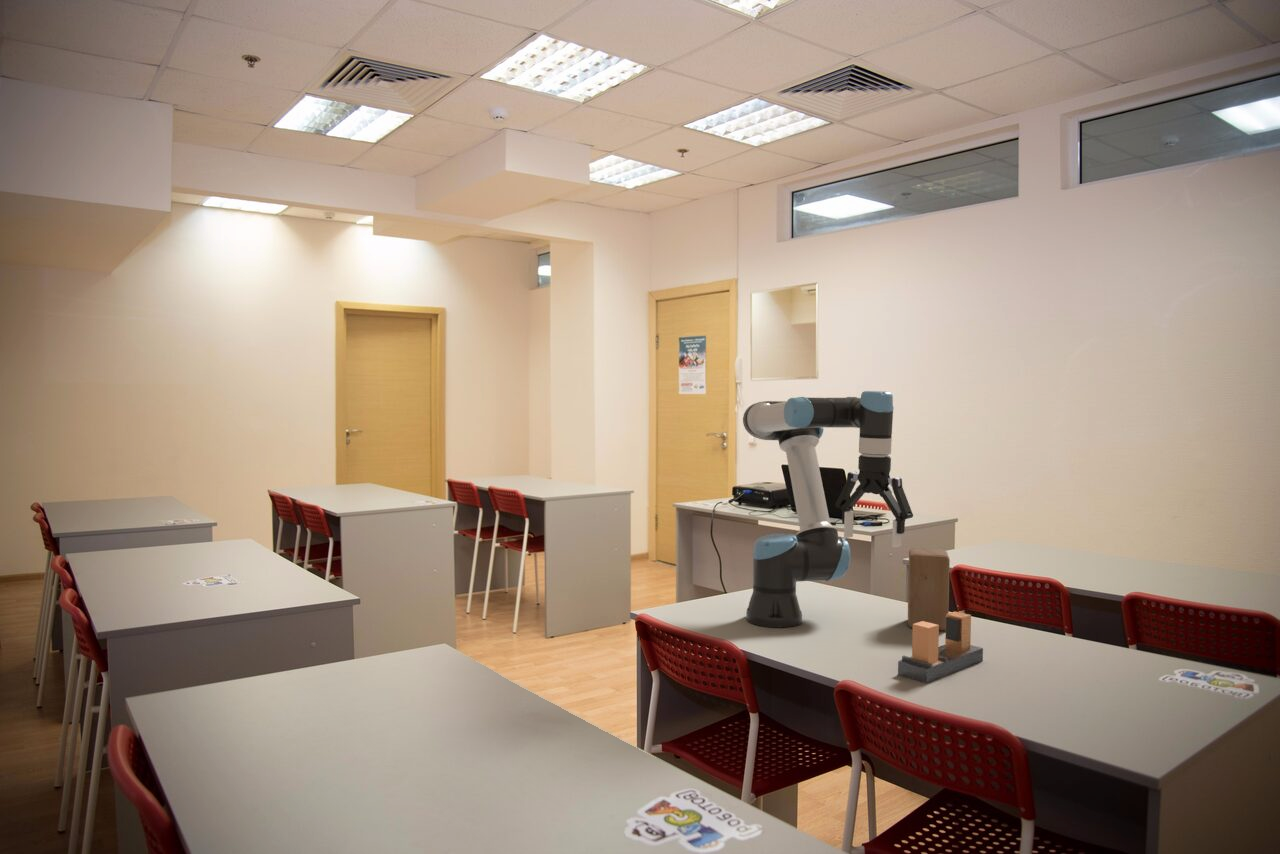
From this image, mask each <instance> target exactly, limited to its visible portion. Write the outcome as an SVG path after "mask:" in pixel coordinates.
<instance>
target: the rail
mask: <svg viewBox="0 0 1280 854" xmlns="http://www.w3.org/2000/svg"><path fill="white" fill-rule="evenodd" d="M971 632H972V614H969V613H963V612H959V611H952V612H949V613H948V614H946V630H945V644H943V645H939V646H938V661H936V662H933V663H929V662H925V661H921V660H918V659H914V658H912V655H910V656H907V655H902V656H901V660H900V659H899V660H898V661H897V675H899V676H902V677H905V678H908V679H911V680H915V681H918V682H922V683H925V684H928V683H931V682H933V681H936V680H938V679H941V678H944V677H946V676H947V675H951V674H953V673H956V672H959V671H961V670H964V669H966V668H968V667H970V666H971V667H972V665H975V664H978V663H981V662H983V661H984V648H983V647H981V646H975V645H973V644H971V636H972V635H971V634H972V633H971Z"/></svg>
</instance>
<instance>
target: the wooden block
mask: <svg viewBox="0 0 1280 854" xmlns="http://www.w3.org/2000/svg"><path fill="white" fill-rule="evenodd" d="M950 561H951V560H950V556H949V554H948V551H947V550H945V549H935V548H934V549H931V548H914V547H913V548H910V549H909V550H908V585H907V587H908V588H907V624H908V626H909V627H910V628H912V629H913V624H915V623H918V622H921V621H924V622H929V623H933V624H937V625H939V631H943V632H944V631H945V632H946V614H948V613H950V612H949V610H950V609H949V608H950V607H949V605H950V563H951V562H950Z"/></svg>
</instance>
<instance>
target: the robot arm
mask: <svg viewBox="0 0 1280 854" xmlns="http://www.w3.org/2000/svg"><path fill="white" fill-rule="evenodd" d="M893 396H894V395H893V394H892V392H890V391H882V390H881V391H880V390H865V391H862V392H861V394H860V397H857V396H846V397H805V396H798V397H790V398H788V399H787V400H786V401H785V400H783V401H782V400H781V401H779V400H778V401H777V400H774V401H772V400H766V401H758V402H756V403H755V402H754V403H753V404H751V405H749V406H748V407H747V408H746V409H745V411H744V413H743V416H742V424H743V427H744V429H745V431H746V432H747V433H748V434H749V435H750V436H752V437H753V438H756V439H758V440H763V441H778V444H779V445H778V446H779V449H780V450H781V451H783V452H785V455H786V460H787V466H788V471H789V476H790V482H791V487H792V493H793V498H794V499H793V500H794V504H795V509H796V515H797V522H798V525H799V526H798V527H799V530H798V531H797V533H796V534H793V533H788V532H787V533H785V532H783V533H780V532H779V533H777V532H776V533H771V534H767V535H763V536H760V537H758V538H757V539H756V540H755V541H754V543H753V554H752V560H753V563H752V565H753V569H752V571H753V572H752V581H753V582H752V594H751V596H750V599H749V603H748V606H747V608H746V616H745V618H746V619H745V620H746V621H747V622H748V623H751V624H753V625H756V626H760V627H765V628H767V627H768V628H790V627H796V626H799V625H801V624H802V623H803V612H802V610H801V608H800V607H801V606H800V604H799V600H798V596H797V590H796V589H797V583H798V582H815V581H816V582H817V581H826V582H829V581H832V580H840V579H842V578H844V576H845V575H846V573H847V572H848V569H849V566H850V562H851V549H850V544H849V542H848V541H847V539H849V538H853V536H854V516H855V515H854V514H855V512H854V510H853V507H854V506H855V505H856V504H857V503H858V502H859V500H860V499H861V498H862V497H863V496H864V495H865V494H870V493H871V494H874V495H879V496H880V497H881V498H882V499H883V501H884V502H885V503H886V505H887V507H888V508H889V510H890V511H891V513H892V515H893V517H894V518H895V519H892V533H891V535H892V536H891V538H892V539H891V548H894V549H896V548H899V547H902V534H903V535H904V534H905V532H906V531H905V530H906V529H905V527H906V526H905V524H906V520H908V519H912V518H914V514H913V511H912V508H911V506H910V504H909V501H908V498H907V496H906V493H905V491H904V490H905V489H904V487H903V479H902V478H901V476H900V477H893V478H892V477H891V476H890V473H891V467H892V465H891V464H892V457H891V456H889V455H891V453H892V441H893V440H892V439H893V438H892V435H893V422H894V421H893V418H894V409H895V408H894V400H893V399H894V397H893ZM824 428H839V429H841V428H843V429H844V428H855V429H859V439H858V440H859V441H858V453H859V454H860V455H859V456H858V465H857V466H858V467H857V468H858V470H859V472H857V471H849V472H848V473H847V477H846V482H845V484H844V486H843V488H842V490H841V492H840V494H839V496H838V498H837V499H836V502H835V508H838V509H841V513H842V514H841V515H842V516H841V522H842V524H844V525H843V527H844V528H843V537H842V536H839V532H838V529H837V527H835V526H834V525H832V524H831V520H830V515H829V510H828V505H827V500H826V495H825V490H824V487H823V480H822V476H821V471H820V465H819V461H818V455H817V449H816V447H817V446H818V444H819V442H820V439H821V438H822V436H823V434H824ZM857 482H859V485H857V487H856V488H855V490H854V487H855V485H856V484H857ZM889 485H890V486H891V488H890V487H889ZM891 489H892V490H891ZM853 490H854V492H852V491H853Z"/></svg>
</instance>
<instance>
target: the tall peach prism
mask: <svg viewBox="0 0 1280 854" xmlns="http://www.w3.org/2000/svg"><path fill="white" fill-rule="evenodd" d="M939 633H940V630H939V625H937V624H933V623H929V622H924V621H921V622H918V623H915V624H913V628H912V635H911V636H912V639H911V640H912V643H911V644H912V645H911V646H912V648H911V651H912V652H911V656H912V658H914V659H918V660H921V661H925V662H929V663H933V662H936V661H938V647H940V645H939V641H940V640H939V639H940V637H939V635H940V634H939Z"/></svg>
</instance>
